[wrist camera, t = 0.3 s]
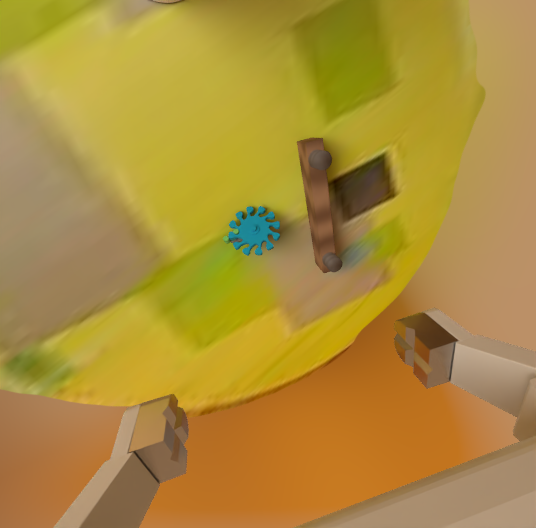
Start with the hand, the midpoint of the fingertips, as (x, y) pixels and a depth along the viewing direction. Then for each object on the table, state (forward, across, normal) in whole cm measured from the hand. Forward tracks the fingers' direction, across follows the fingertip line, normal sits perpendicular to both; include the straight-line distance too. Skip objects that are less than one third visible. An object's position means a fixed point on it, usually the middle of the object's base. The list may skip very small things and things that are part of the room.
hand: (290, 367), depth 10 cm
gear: (+47, -2, +10) cm, 48 cm away
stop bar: (+46, -16, +10) cm, 50 cm away
